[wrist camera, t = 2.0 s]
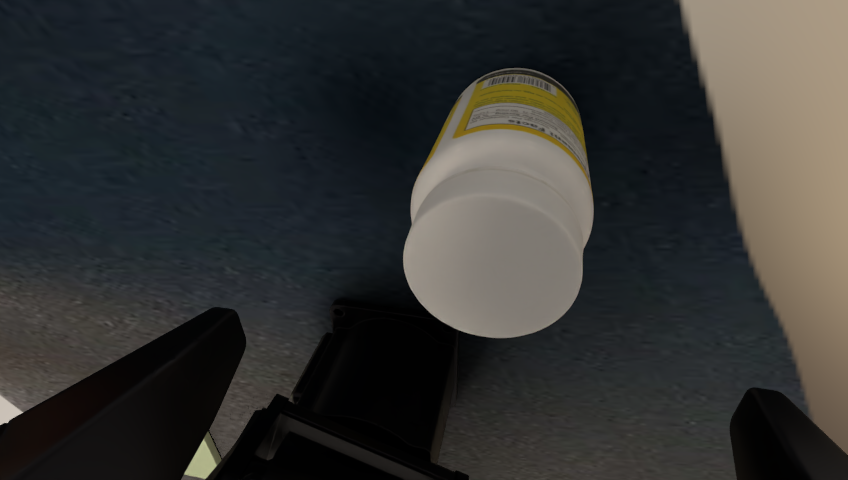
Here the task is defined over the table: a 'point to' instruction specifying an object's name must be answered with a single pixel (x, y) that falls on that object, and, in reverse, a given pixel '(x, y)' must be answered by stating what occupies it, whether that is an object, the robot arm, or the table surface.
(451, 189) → the supplement bottle
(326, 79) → the table surface
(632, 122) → the table surface
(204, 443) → the mat
